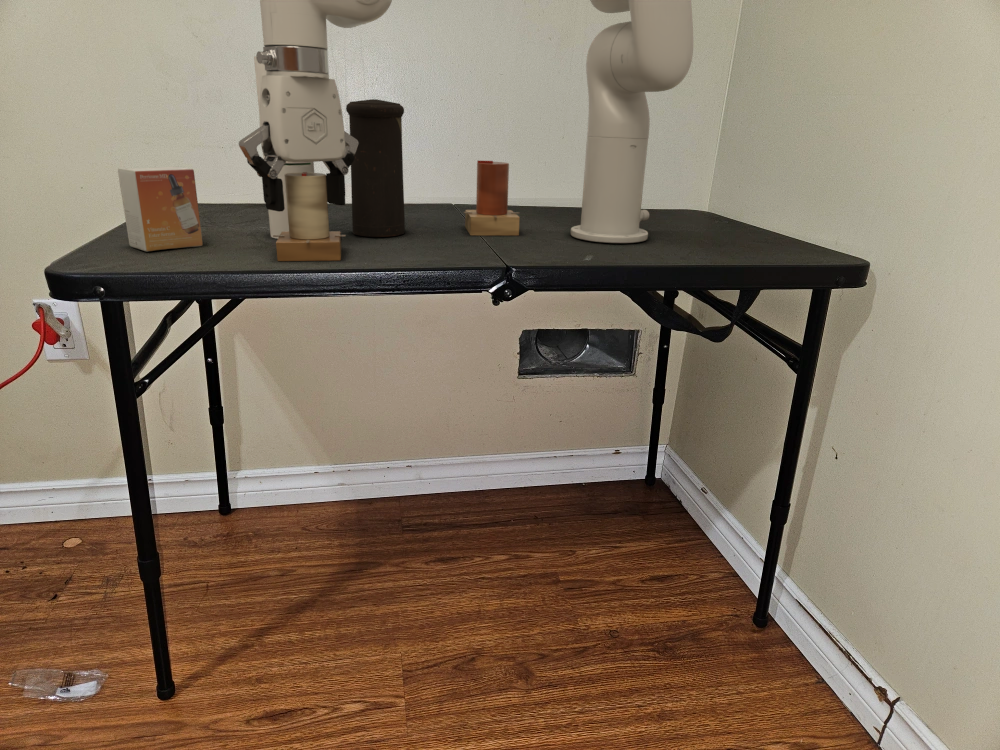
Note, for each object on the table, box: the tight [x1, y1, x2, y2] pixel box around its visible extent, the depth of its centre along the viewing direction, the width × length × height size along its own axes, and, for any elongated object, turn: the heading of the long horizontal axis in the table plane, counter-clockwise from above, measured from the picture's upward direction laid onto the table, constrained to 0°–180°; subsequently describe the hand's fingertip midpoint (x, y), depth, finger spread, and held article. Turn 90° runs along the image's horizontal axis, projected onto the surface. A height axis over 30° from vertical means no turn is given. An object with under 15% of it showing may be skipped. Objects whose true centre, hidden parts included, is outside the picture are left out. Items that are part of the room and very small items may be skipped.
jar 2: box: [475, 159, 510, 215], centre depth 112 cm, size 5×5×8 cm
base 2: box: [463, 209, 521, 237], centre depth 114 cm, size 9×9×3 cm
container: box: [345, 98, 406, 238], centre depth 106 cm, size 9×9×20 cm
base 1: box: [273, 230, 346, 262], centre depth 92 cm, size 9×9×3 cm
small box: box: [117, 165, 203, 252], centre depth 93 cm, size 8×6×10 cm
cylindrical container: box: [253, 55, 315, 240], centre depth 101 cm, size 7×7×25 cm
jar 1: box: [285, 172, 330, 239], centre depth 90 cm, size 5×5×8 cm
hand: (307, 207), depth 90 cm, fingers open, 9 cm apart
